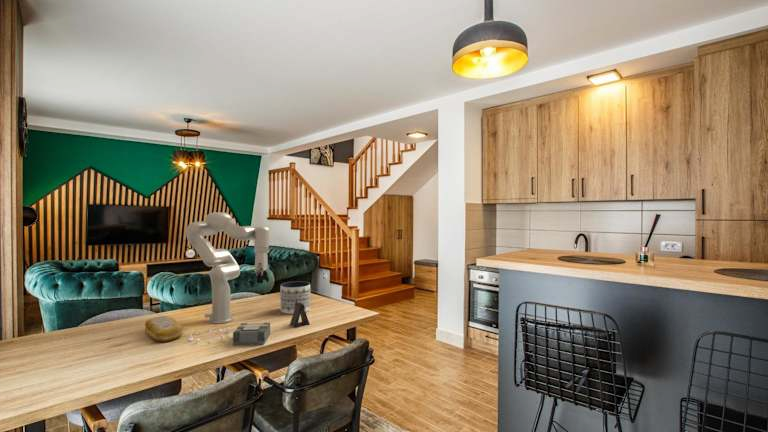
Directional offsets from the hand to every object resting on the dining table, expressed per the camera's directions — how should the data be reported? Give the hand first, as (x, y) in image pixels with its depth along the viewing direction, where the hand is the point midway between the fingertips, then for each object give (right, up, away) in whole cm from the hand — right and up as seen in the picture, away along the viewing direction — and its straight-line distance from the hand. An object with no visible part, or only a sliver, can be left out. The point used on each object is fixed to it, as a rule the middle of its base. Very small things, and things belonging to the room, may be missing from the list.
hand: (261, 281), depth 198 cm
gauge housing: (+2, -25, -20) cm, 32 cm away
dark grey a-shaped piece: (+20, -25, +3) cm, 32 cm away
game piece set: (-20, -25, -17) cm, 36 cm away
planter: (+11, -24, +31) cm, 41 cm away
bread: (-45, -25, -14) cm, 53 cm away
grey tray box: (+2, -23, -20) cm, 31 cm away
